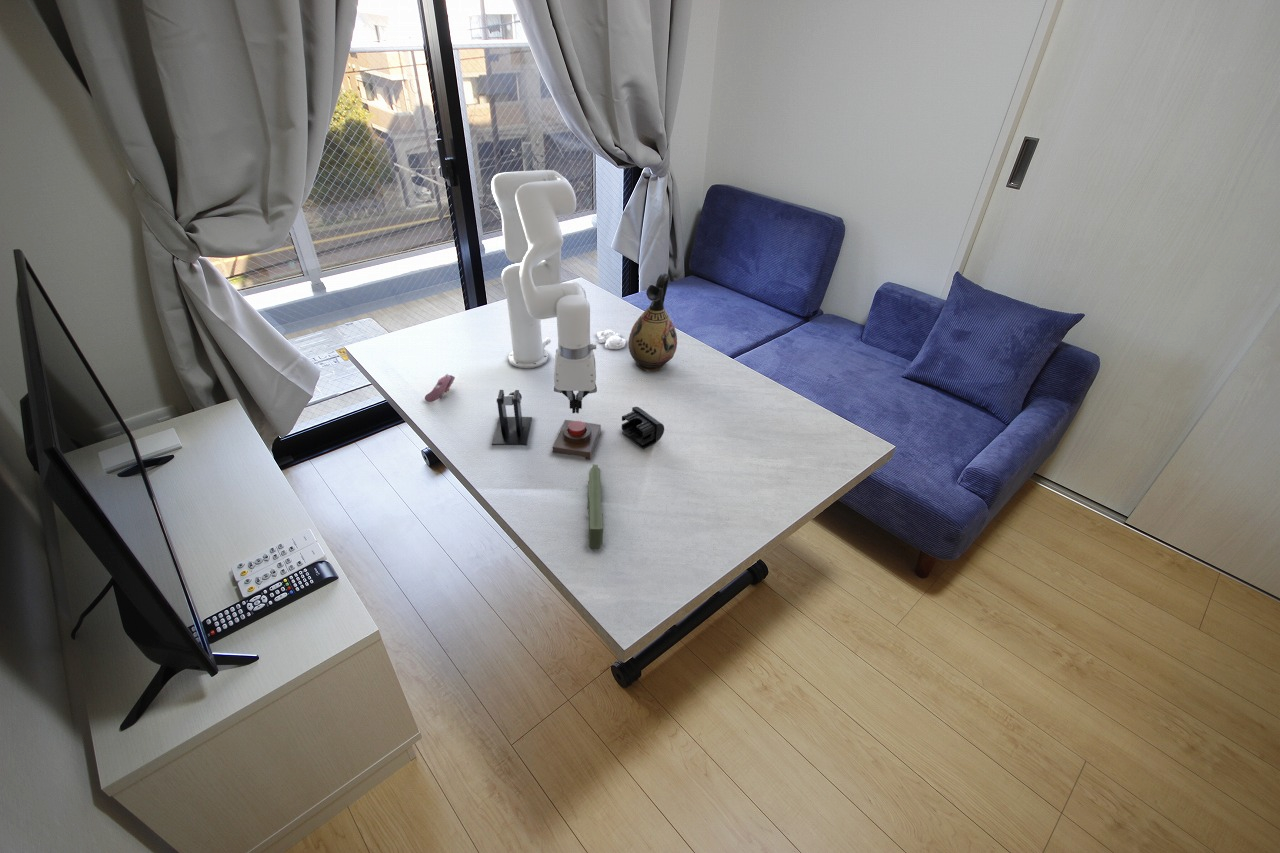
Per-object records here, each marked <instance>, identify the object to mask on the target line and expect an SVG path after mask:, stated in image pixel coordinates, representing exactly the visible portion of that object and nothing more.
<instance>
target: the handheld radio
mask: <svg viewBox="0 0 1280 853" xmlns="http://www.w3.org/2000/svg"><path fill="white" fill-rule="evenodd" d="M601 477H602V476H601V468H600V467H599V464H596V463H595V464H594V463H592V465H591V467H590V469H589V473H588V481H587V510H588V511H587V512H588V548H589V549H590V550H593V551H594V550H599V549H600V548H601V546H602V545H603V538H604V537H603V536H604V514H603V513H602V484H601V483H602V482H601V481H602V480H601Z"/></svg>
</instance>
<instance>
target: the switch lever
mask: <svg viewBox="0 0 1280 853" xmlns="http://www.w3.org/2000/svg"><path fill="white" fill-rule="evenodd" d="M514 393H515V390H513V391H510V393H509V394H504V405H505V406H514V405H513V397H514ZM519 395H520V398H521V400H523V399H522V398H523V397H522V394H521V392H519Z"/></svg>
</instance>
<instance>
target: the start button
mask: <svg viewBox="0 0 1280 853" xmlns="http://www.w3.org/2000/svg"><path fill="white" fill-rule="evenodd" d="M572 421H573V422H571V423H570V424H569V426H568V429H569V434H570V435H572V436H581V435H583V434H584V433H585V424H584V423H583V422H584V421H581V420H572Z"/></svg>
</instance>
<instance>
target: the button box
mask: <svg viewBox="0 0 1280 853" xmlns="http://www.w3.org/2000/svg"><path fill="white" fill-rule="evenodd" d="M573 421H574V420H571V419H570V420H569V419H564V421H563V423H562V425H561V427H560V430H559V432H558V433H557V436H556V438H555V440H554V442H553V444H552V447H551V450H552V453H555V454H561V455H568V456H574V457H582V458H585V460H586V461H592V457H593V454H594V452H595V449H596V447H597V444H598V441H599V438H600V436H601V432H602V431H601V430H602V425H601V424H599V423H593V422H592V423H591V422H584V421H582V422H583V423H584V424H585V433H584V434H583V435H581V436H572V435H570V434H569V429H568V426H569V424H570V423H571V422H573Z"/></svg>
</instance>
